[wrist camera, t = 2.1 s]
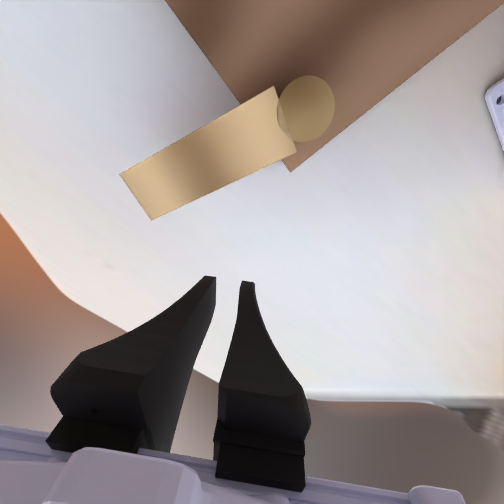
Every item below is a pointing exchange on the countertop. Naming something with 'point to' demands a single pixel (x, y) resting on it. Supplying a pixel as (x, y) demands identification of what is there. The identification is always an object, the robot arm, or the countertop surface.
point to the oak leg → (232, 146)
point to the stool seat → (325, 46)
